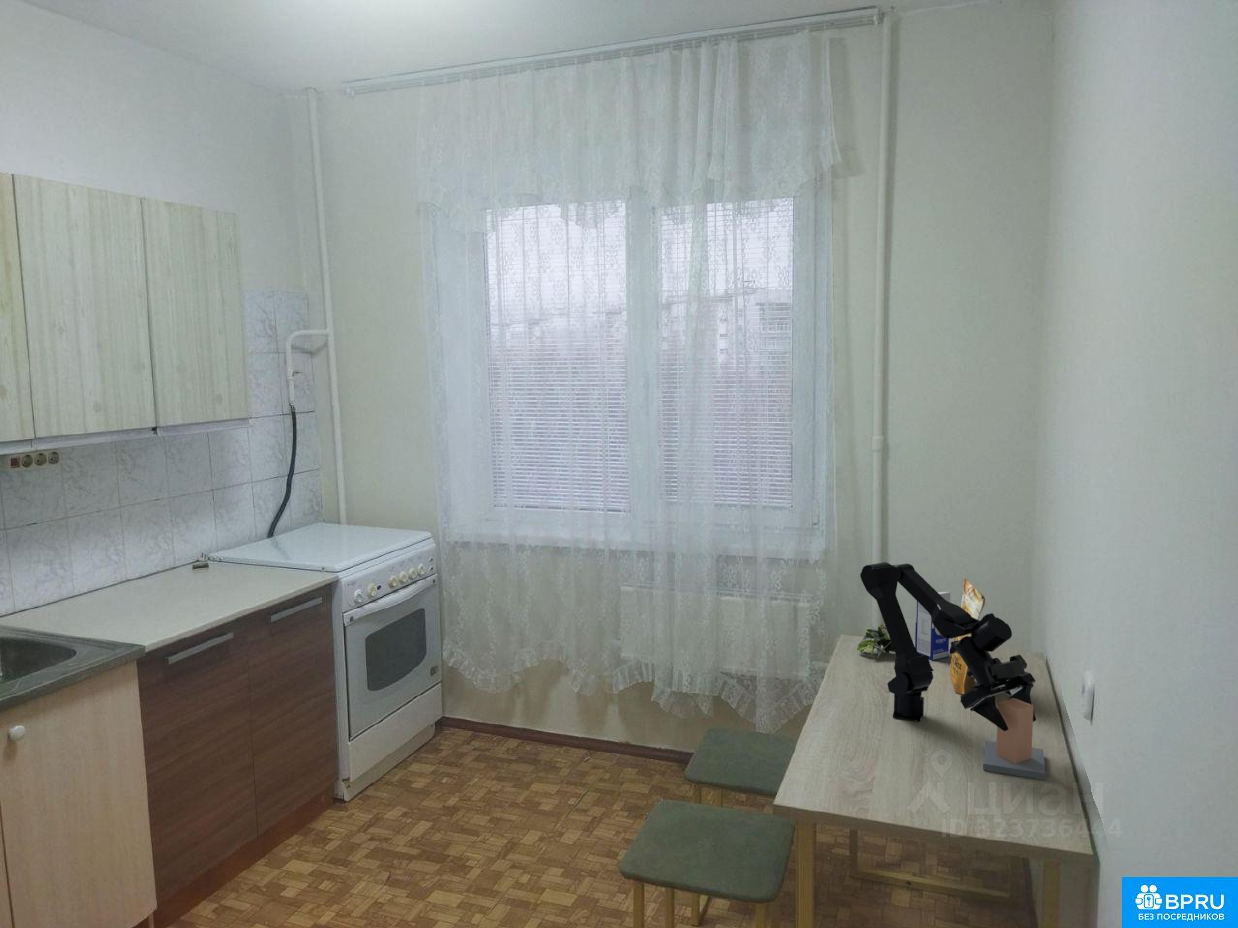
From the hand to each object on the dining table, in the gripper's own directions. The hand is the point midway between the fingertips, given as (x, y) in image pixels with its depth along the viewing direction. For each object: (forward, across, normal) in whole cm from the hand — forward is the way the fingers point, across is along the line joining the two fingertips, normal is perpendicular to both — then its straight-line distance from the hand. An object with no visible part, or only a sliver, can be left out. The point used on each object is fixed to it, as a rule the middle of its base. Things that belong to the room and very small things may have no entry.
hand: (1020, 725), depth 187 cm
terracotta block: (+4, 0, +6) cm, 8 cm away
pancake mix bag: (-20, +28, +33) cm, 48 cm away
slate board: (+5, 0, +7) cm, 9 cm away
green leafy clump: (-40, +26, +54) cm, 72 cm away
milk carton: (-35, +40, +48) cm, 71 cm away
